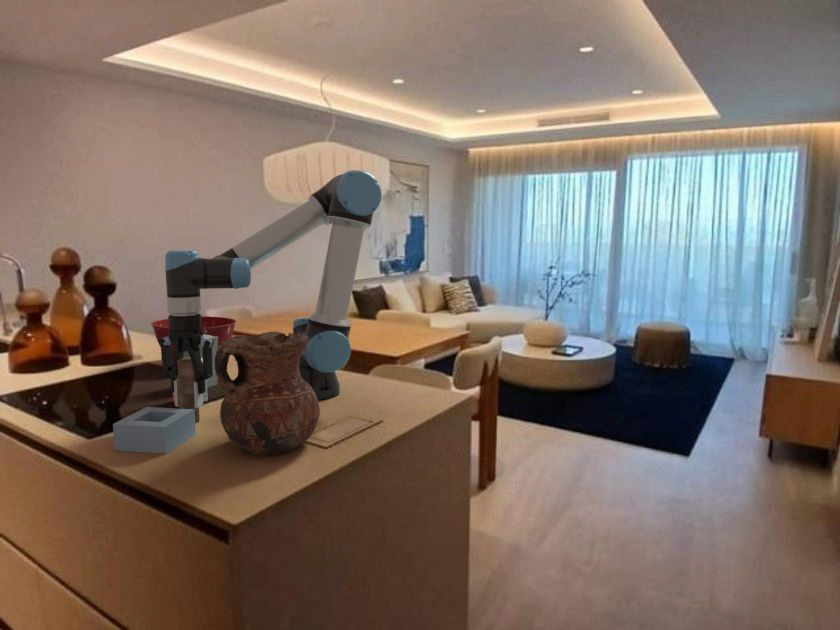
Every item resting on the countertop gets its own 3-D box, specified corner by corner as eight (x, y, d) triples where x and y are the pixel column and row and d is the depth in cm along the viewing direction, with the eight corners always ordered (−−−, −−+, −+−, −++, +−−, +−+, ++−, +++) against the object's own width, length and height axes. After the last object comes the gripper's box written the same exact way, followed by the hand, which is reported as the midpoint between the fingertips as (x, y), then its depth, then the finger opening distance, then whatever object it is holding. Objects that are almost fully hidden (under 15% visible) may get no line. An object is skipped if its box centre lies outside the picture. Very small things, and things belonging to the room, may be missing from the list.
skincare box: (182, 386, 168) (179, 336, 166) (199, 381, 175) (197, 332, 172) (203, 390, 165) (201, 338, 163) (220, 384, 172) (218, 334, 169)
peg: (203, 418, 140) (200, 357, 137) (193, 424, 135) (190, 361, 133) (186, 417, 140) (183, 357, 138) (176, 423, 136) (173, 361, 134)
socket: (195, 433, 129) (194, 409, 128) (166, 453, 117) (164, 427, 117) (148, 431, 131) (147, 406, 130) (114, 450, 119) (112, 424, 118)
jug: (265, 423, 137) (262, 325, 134) (337, 435, 129) (336, 332, 126) (199, 455, 117) (193, 340, 113) (279, 472, 109) (276, 350, 105)
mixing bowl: (218, 351, 219) (217, 313, 217) (250, 364, 198) (249, 322, 196) (143, 361, 200) (140, 320, 198) (169, 377, 179) (167, 330, 177)
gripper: (225, 312, 136) (229, 402, 140) (160, 310, 139) (165, 399, 142) (210, 316, 129) (214, 412, 132) (141, 314, 131) (147, 408, 135)
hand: (189, 405), depth 137 cm, fingers closed on peg, 4 cm apart
